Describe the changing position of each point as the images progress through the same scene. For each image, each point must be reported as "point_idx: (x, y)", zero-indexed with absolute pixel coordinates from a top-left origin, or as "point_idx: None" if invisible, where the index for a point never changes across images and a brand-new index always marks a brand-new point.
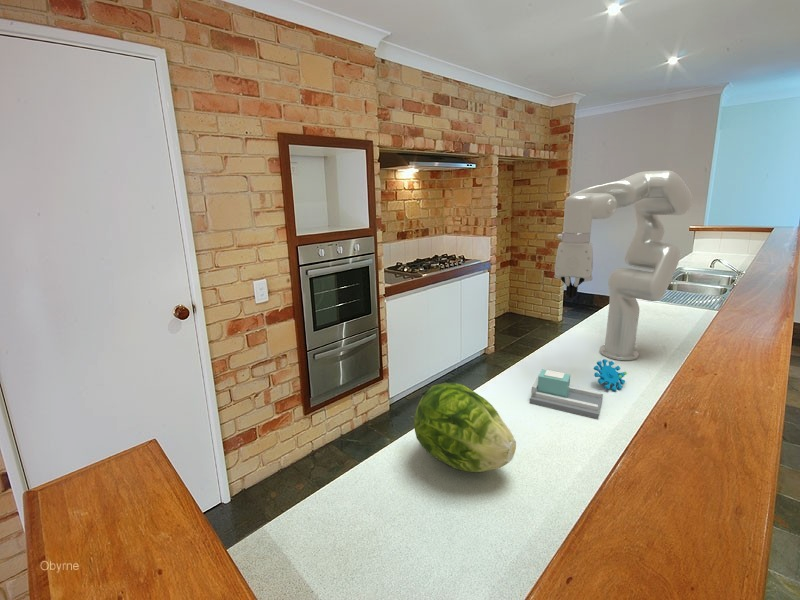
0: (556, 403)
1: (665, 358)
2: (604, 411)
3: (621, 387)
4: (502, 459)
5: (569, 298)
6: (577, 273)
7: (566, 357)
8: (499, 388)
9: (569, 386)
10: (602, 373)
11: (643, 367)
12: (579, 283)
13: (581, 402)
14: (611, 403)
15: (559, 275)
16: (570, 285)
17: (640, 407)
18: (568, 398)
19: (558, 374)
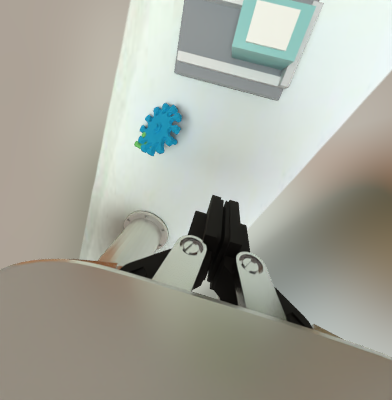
0: None
1: (98, 222)
2: (177, 18)
3: (146, 117)
4: None
5: (229, 201)
6: (143, 343)
7: None
8: (366, 62)
9: (229, 71)
10: (168, 122)
11: (120, 195)
12: (164, 256)
13: None
14: (164, 58)
15: None
16: (226, 259)
17: (125, 57)
18: (240, 3)
19: (262, 26)
